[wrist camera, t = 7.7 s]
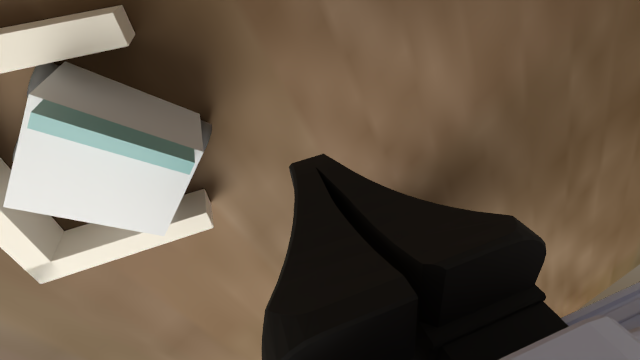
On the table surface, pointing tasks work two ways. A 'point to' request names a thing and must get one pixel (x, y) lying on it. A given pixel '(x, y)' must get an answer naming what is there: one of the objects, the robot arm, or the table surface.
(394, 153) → the table surface
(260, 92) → the table surface
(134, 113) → the white box with knobs
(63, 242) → the bay
